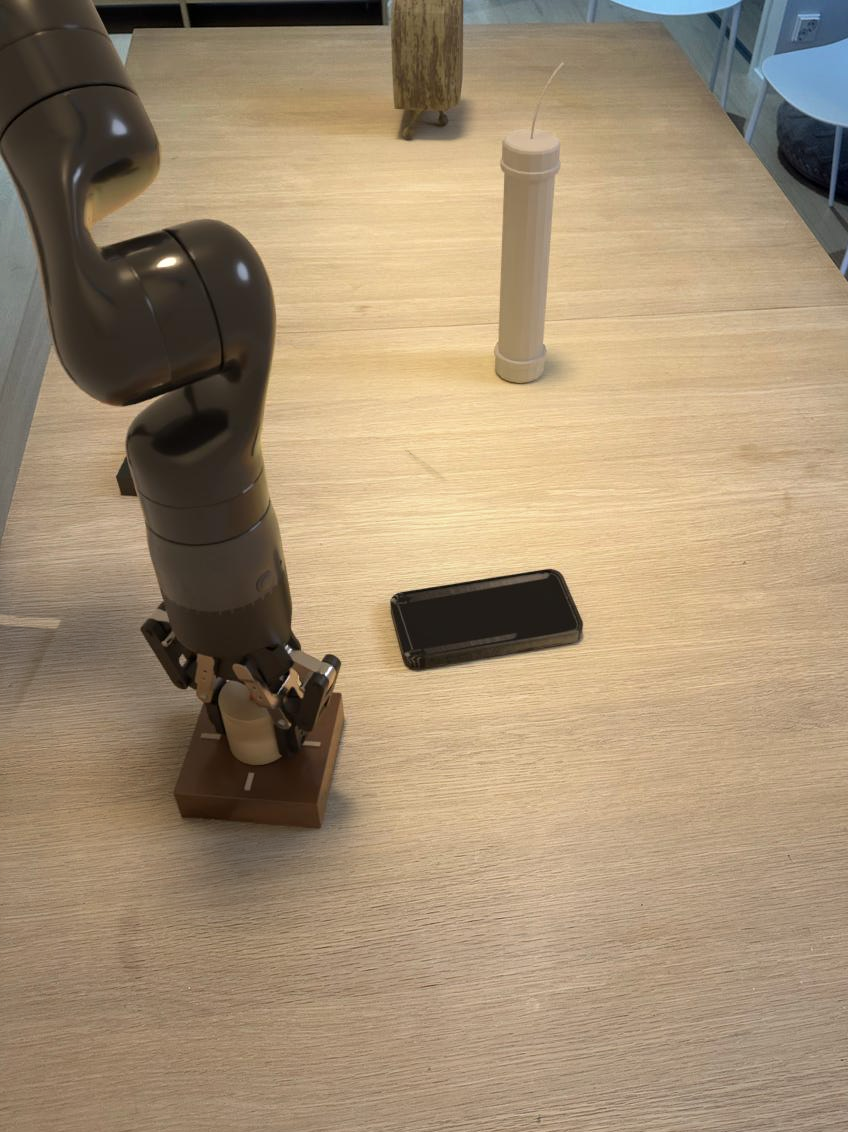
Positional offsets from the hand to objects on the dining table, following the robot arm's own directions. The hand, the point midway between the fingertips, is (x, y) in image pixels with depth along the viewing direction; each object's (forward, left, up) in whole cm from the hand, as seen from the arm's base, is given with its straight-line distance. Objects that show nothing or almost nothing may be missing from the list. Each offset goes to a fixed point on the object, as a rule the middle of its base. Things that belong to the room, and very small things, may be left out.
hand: (259, 735), depth 75 cm
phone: (+15, +16, -4) cm, 22 cm away
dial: (0, 0, 0) cm, 0 cm away
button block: (-15, +33, -4) cm, 36 cm away
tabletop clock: (-1, +117, -4) cm, 117 cm away
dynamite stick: (+16, +54, -4) cm, 56 cm away
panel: (0, 0, -4) cm, 4 cm away
